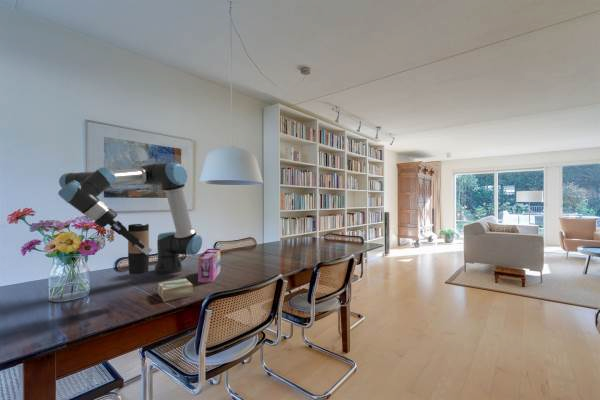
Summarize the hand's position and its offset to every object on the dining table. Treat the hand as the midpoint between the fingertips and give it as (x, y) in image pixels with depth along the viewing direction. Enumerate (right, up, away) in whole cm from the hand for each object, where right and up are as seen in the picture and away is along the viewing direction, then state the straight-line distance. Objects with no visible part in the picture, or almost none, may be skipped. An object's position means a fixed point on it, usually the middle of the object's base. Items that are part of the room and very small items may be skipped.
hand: (148, 250), depth 120 cm
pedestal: (+8, -21, +7) cm, 24 cm away
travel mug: (-3, -9, -2) cm, 9 cm away
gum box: (+15, -21, +37) cm, 45 cm away
